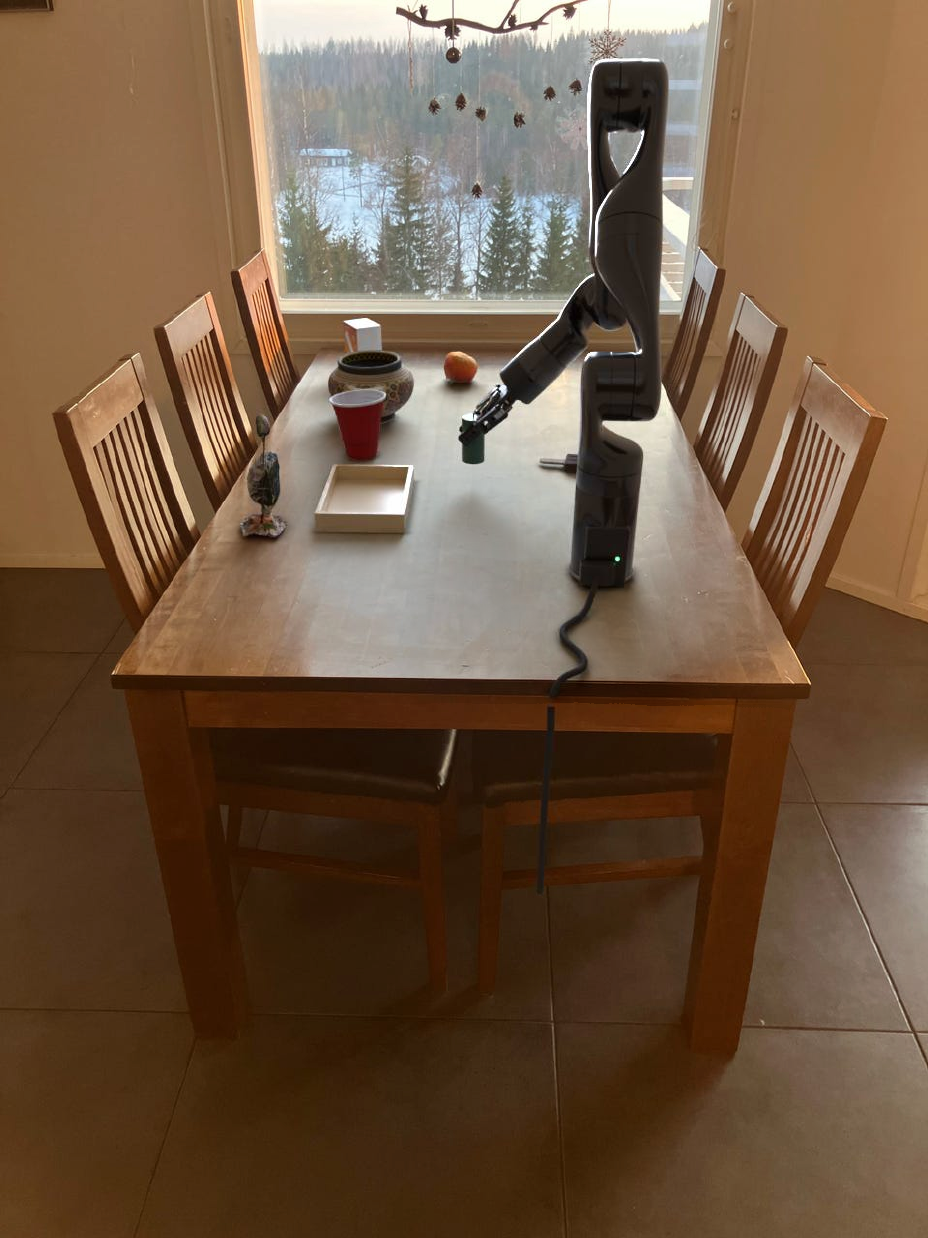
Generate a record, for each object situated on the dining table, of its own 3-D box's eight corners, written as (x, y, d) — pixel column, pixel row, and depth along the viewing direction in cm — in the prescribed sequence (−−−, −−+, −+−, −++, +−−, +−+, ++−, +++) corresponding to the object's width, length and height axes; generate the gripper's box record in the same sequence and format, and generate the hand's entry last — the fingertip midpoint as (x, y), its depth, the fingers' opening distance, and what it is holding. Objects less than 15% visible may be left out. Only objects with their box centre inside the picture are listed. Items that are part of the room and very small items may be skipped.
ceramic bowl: (353, 411, 222) (332, 346, 215) (428, 393, 219) (410, 327, 211) (332, 449, 201) (308, 379, 194) (414, 431, 197) (393, 359, 190)
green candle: (484, 464, 174) (484, 416, 169) (461, 464, 174) (461, 416, 170) (484, 456, 177) (484, 409, 173) (462, 456, 177) (462, 408, 173)
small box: (346, 375, 236) (342, 320, 230) (370, 371, 239) (367, 317, 233) (359, 384, 230) (356, 328, 224) (383, 380, 233) (381, 324, 226)
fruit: (430, 373, 233) (446, 342, 231) (456, 387, 237) (472, 356, 235) (444, 382, 226) (460, 351, 224) (471, 396, 231) (487, 365, 229)
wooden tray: (404, 533, 160) (404, 514, 159) (315, 531, 161) (314, 513, 159) (414, 482, 179) (413, 465, 177) (334, 481, 179) (333, 464, 178)
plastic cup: (354, 441, 197) (351, 383, 191) (399, 451, 192) (397, 391, 186) (321, 458, 189) (316, 397, 183) (366, 469, 184) (363, 407, 178)
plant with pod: (299, 514, 167) (289, 399, 156) (276, 543, 157) (264, 422, 147) (254, 510, 168) (241, 396, 158) (228, 539, 158) (213, 419, 148)
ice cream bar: (538, 469, 184) (618, 475, 182) (538, 461, 183) (619, 466, 181) (541, 459, 189) (619, 464, 187) (541, 451, 188) (620, 456, 186)
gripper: (517, 343, 172) (448, 410, 178) (518, 366, 160) (445, 436, 166) (546, 374, 175) (477, 438, 181) (550, 398, 162) (476, 466, 169)
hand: (462, 437), depth 173 cm, fingers closed on green candle, 4 cm apart
